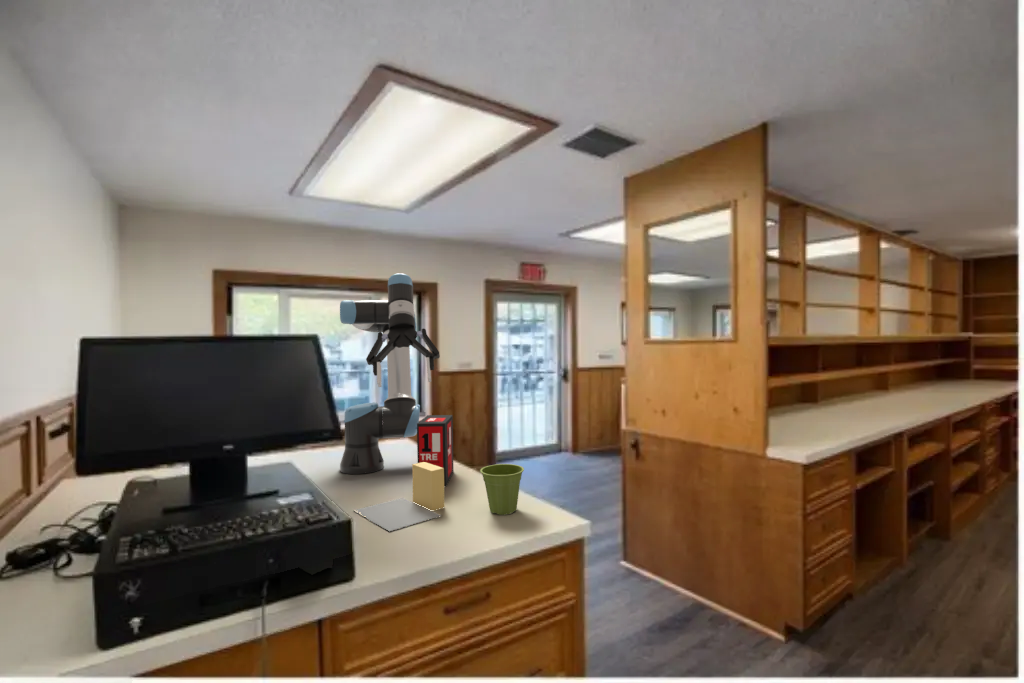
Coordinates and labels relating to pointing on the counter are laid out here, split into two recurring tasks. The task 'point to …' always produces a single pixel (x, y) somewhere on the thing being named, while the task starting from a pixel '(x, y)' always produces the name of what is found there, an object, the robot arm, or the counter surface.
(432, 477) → the ochre box
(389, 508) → the mat
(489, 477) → the plant pot
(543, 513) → the counter surface
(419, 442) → the cleaning product box
